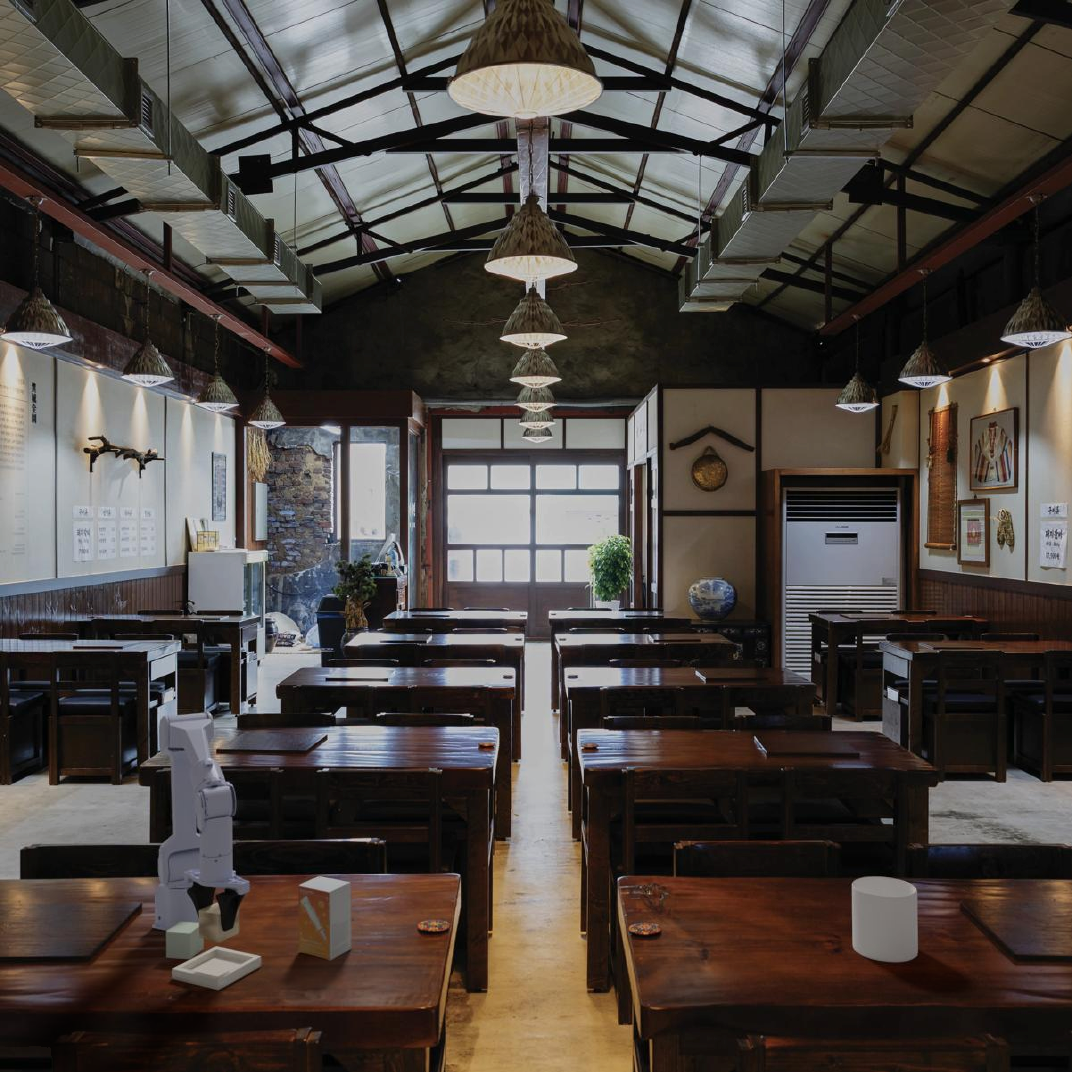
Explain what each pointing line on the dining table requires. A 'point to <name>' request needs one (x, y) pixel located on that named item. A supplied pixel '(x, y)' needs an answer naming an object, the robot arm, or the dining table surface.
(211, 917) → the maple cube
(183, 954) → the sage cube
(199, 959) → the tray
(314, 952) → the small box
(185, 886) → the robot arm
